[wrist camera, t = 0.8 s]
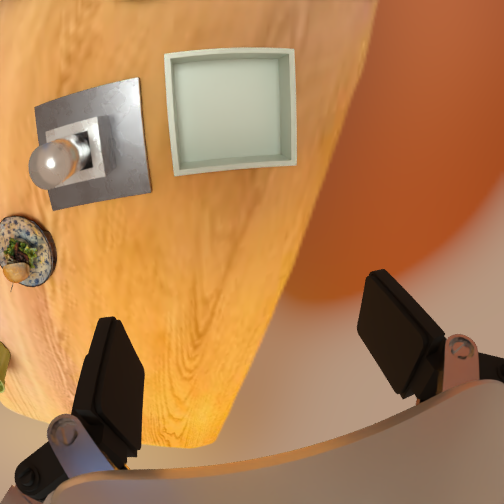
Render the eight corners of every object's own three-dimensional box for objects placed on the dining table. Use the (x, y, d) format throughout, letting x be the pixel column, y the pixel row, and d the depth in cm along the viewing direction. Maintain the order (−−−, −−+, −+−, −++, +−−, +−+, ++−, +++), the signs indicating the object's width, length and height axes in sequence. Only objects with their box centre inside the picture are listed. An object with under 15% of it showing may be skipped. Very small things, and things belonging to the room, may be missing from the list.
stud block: (38, 106, 25) (18, 109, 20) (139, 78, 27) (130, 73, 22) (55, 208, 31) (39, 223, 27) (152, 190, 33) (145, 203, 29)
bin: (168, 60, 26) (164, 54, 22) (281, 55, 28) (294, 48, 24) (176, 167, 33) (174, 176, 29) (284, 157, 35) (296, 165, 31)
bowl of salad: (58, 219, 32) (34, 244, 26) (58, 288, 37) (42, 319, 31) (-4, 205, 29) (-32, 225, 22) (1, 271, 34) (-20, 298, 27)
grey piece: (62, 127, 26) (13, 141, 17) (109, 115, 27) (72, 120, 18) (70, 177, 29) (27, 208, 20) (116, 167, 30) (84, 195, 21)
